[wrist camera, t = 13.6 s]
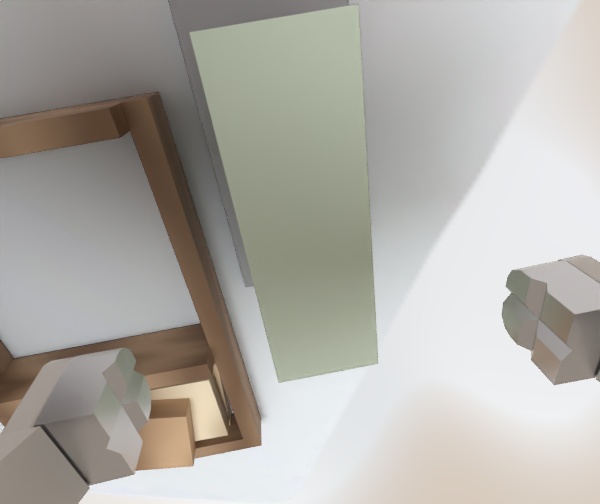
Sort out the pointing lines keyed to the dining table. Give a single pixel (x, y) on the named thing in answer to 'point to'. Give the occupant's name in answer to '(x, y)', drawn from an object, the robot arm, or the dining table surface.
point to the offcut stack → (183, 422)
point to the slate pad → (189, 18)
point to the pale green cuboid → (298, 180)
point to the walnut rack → (188, 249)
